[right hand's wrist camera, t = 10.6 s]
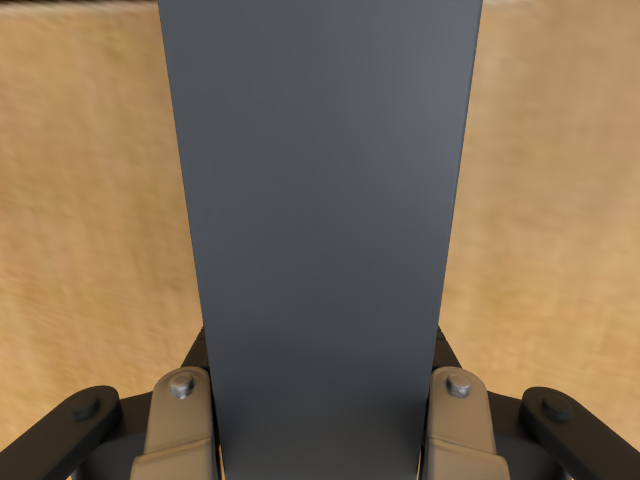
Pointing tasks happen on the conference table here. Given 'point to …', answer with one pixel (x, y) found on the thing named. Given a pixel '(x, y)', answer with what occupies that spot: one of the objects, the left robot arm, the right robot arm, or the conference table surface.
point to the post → (320, 219)
